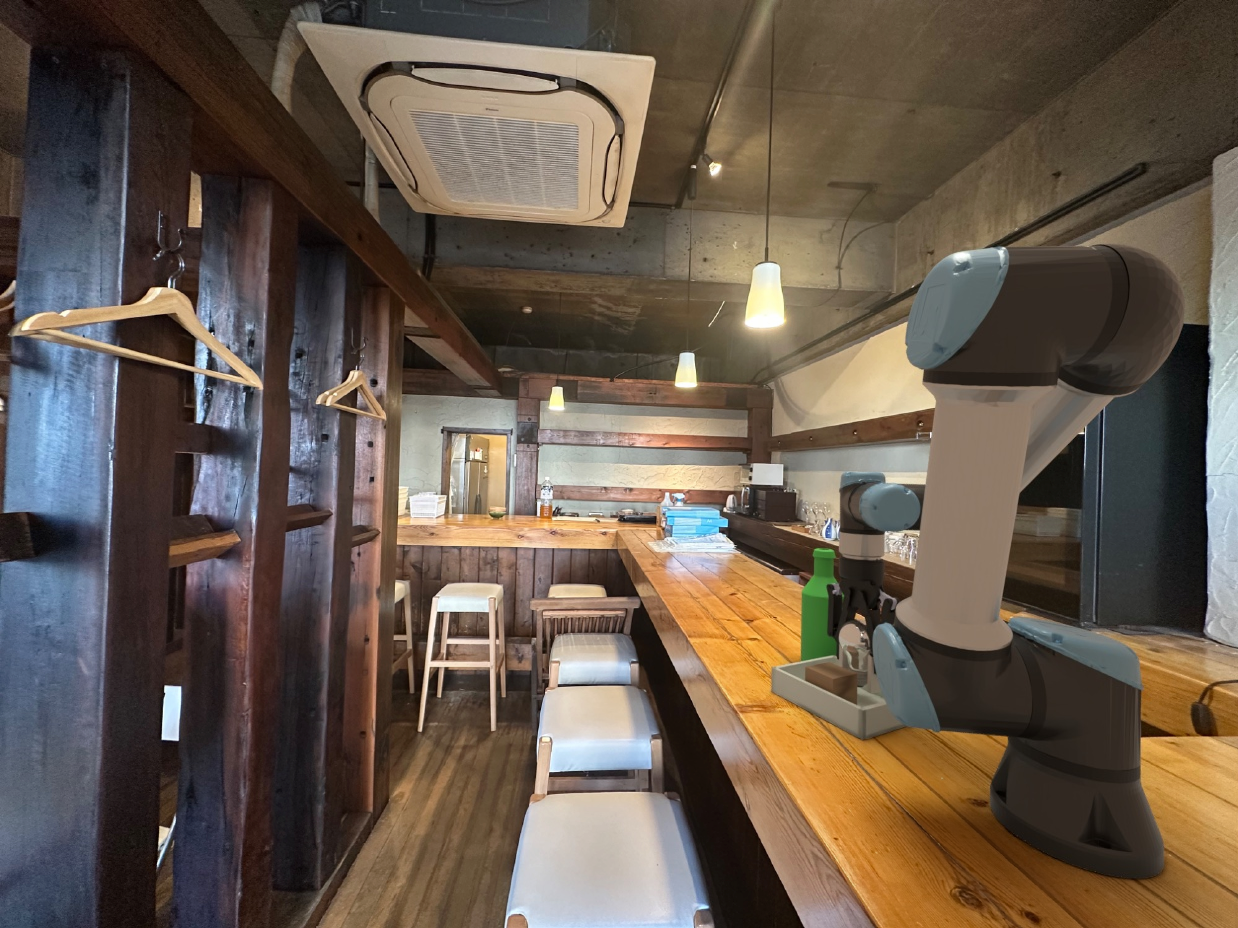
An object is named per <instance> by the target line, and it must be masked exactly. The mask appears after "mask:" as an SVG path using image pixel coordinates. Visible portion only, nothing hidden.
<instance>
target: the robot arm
mask: <svg viewBox="0 0 1238 928" xmlns="http://www.w3.org/2000/svg"><path fill="white" fill-rule="evenodd" d="M916 293H917V294H916V295H915V298H914V300H913V303H912V306H911V308H910V311H909V316H908V318H907V324H906V329H905V330H906V331H905V337H904V339H905V340H904V344H905V346H906V350H905V353H906V358H907V360H908V362H909V363H910V365H912V366H913V367H915V368H918V370H921V371H922V370H923V372H922V373H923V375H922V381H921V382H922V385H923V387H925V388H926V390H927V391H928V392H929V393H931V395H932V396H933V397H934V400H935V406H934V413H933V414H934V415H933V420H932V421H933V423H932V430H931V439H930V447H929V453H928V454H929V455H928V462H927V463H928V464H927V468H926V469H927V470H926V479H925V484H923V483H922V484H921V483H916V484H915V483H896V482H887V481H886V474H884V473H883V472H881V471H844V472H842V474H841V475H840V483H839V489H838V492H839V533H838V534H839V535H838V536H839V537H838V552H839V553H840V554H841V555H840V556H839V557H838V574H839V576H840V580H839V582H838V583H834V584H827V586H826V588H827V592H828V596H829V598H828V623H827V634H828V636H829V637H833V638H834V639H835V641H836V643H837V648H836V657H837V659H838V660H839V666H840V667H843V668H845V669H848V670H850V667H849V665H848V662H847V657H846V655H845V653H844V651H843V650H842V648H841V646H840V643H839V638H838V637H839V631H840V628H841V627H842V625H843V624H844V623H846V622H847V621H849V620H852V619H856V616H857V611H858V610H859V609H860V610H861V615H862V616H863V617H864V620H865V621H866V626H867V631H868V636H869V639H870V645H871V650H872V653H869V655H868V678H867V692H868V693H871V694H872V693H876V692H880V691H881V692H882V694H883V697H884V699H885V702H886V704H887V706H888V708H889V710H890V711H891V713H892V714H893V716H894V717H895V718H896V719H897V720H898V721H899V722H900V723H902V724H904V725H906V727H909V728H913V729H921V730H929V731H932V732H934V733H937V734H939V733H941V732H947V733H948V732H951V733H959V734H960V733H962V734H971V735H973V734H975V735H985V736H986V735H987V736H997V737H1007V745H1006V747H1005V749H1004V752H1003V754H1002V757H1001V759H1000V761H999V763H998V765H997V768H996V770H995V771H994V774H993V777H992V779H991V782H990V785H989V807H990V810H991V812H992V814H993V816H994V817H995V818H996V820H997V821H998V822H999V823H1000V824H1002V826H1003V827H1004V828H1005V829H1007V830H1008V831H1009V832H1011V833H1012V834H1013V835H1015V836H1016V837H1017V838H1019V839H1020V840H1021V841H1023V842H1025V843H1026V844H1027V845H1030V846H1032V847H1033V848H1035V849H1037V850H1039V851H1041V852H1042V853H1045V854H1047V856H1048V855H1049V856H1051V857H1053V858H1055V859H1056V860H1059V861H1062V862H1064V863H1065V864H1066V863H1067V864H1069V865H1071V866H1075V867H1077V868H1080V869H1083V870H1085V871H1086V870H1087V871H1089V870H1091V871H1090V872H1093V871H1096V872H1097V873H1098V874H1101V875H1104V876H1105V875H1106V876H1109V877H1115V878H1116V877H1117V878H1122V879H1134V880H1136V879H1137V880H1138V879H1140V880H1141V879H1147V878H1148V879H1149V878H1153V877H1155V876H1158V875H1159V874H1160V873H1161V872H1162V871H1164V867H1165V845H1164V844H1165V843H1164V839H1163V836H1162V835H1161V832H1160V828H1159V826H1158V823H1157V821H1156V818H1155V816H1154V813H1153V810H1152V808H1151V806H1150V803H1149V800H1148V797H1147V796H1146V793H1145V791H1144V788H1143V785H1142V781H1141V780H1142V779H1141V777H1142V775H1141V773H1142V770H1141V768H1142V767H1141V762H1142V758H1141V757H1142V756H1141V755H1142V752H1141V751H1142V742H1141V741H1142V738H1141V737H1142V727H1141V726H1142V691H1144V685H1143V684H1142V683H1143V682H1142V675H1141V674H1142V672H1141V664H1140V658H1139V656H1138V655H1137V653H1136V651H1134V650H1133V649H1132V648H1131V647H1130V646H1129V645H1127V644H1125V643H1123V642H1121V641H1120V640H1117V639H1114V638H1112V637H1109V636H1107V635H1104V634H1101V633H1097V632H1094V631H1091V630H1088V629H1085V628H1080V627H1077V626H1072V625H1069V624H1064V623H1060V622H1055V621H1051V620H1047V619H1040V618H1035V617H1028V616H1012V617H1011V618H1009V620H1008V622H1009V623H1008V624H1006V623H1005V622H1004V621H1003V620H1004V619H1003V618H1002V617H1001V616H1000V611H1001V605H1002V601H1003V593H1004V587H1005V582H1006V575H1007V570H1008V564H1009V557H1010V551H1011V545H1012V539H1013V535H1014V534H1013V533H1014V528H1015V521H1016V517H1017V513H1018V511H1017V510H1018V505H1019V504H1018V503H1019V497H1020V493H1021V492H1022V491H1023V490H1024V489H1025V488H1026V487H1027V486H1028V485H1029V484H1030V483H1031V482H1032V481H1033V480H1034V479H1035V478H1036V477H1037V476H1038V475H1040V473H1041V472H1042V471H1043V470H1044V469H1045V468H1046V467H1047V466H1048V465H1049V464H1050V463H1051V462H1052V461H1053V460H1054V459H1055V458H1056V457H1057V456H1058V455H1059V454H1060V453H1061V452H1062V450H1064V449H1065V448H1066V447H1067V446H1068V444H1070V443H1071V442H1072V441H1073V439H1074V438H1075V437H1077V436H1078V434H1080V433H1081V432H1082V430H1083V429H1085V428H1086V427H1087V426H1088V424H1090V423H1091V422H1092V421H1093V419H1095V418H1096V416H1098V415H1099V414H1100V412H1101V411H1102V410H1103V409H1105V408H1106V406H1107V405H1108V404H1109V403H1111V401H1112V400H1113V399H1115V398H1120V397H1125V396H1128V395H1131V394H1133V393H1135V392H1136V391H1137V390H1139V389H1140V388H1141V387H1142V386H1143V385H1144V384H1145V383H1146V382H1147V381H1148V380H1149V379H1150V378H1151V377H1152V376H1153V375H1154V374H1155V373H1156V372H1157V371H1158V370H1159V368H1160V367H1162V365H1163V364H1164V362H1165V361H1166V360H1167V359H1168V357H1169V356H1170V354H1171V353H1172V350H1173V349H1174V347H1175V345H1176V344H1177V342H1178V340H1179V337H1180V334H1181V331H1182V329H1183V326H1184V320H1185V313H1186V312H1185V311H1186V302H1185V295H1184V290H1183V288H1182V285H1181V282H1180V280H1179V279H1178V277H1177V275H1176V273H1175V272H1174V271H1173V270H1172V268H1171V267H1170V265H1168V264H1167V263H1166V262H1164V260H1163V259H1161V258H1159V257H1157V256H1156V255H1154V254H1152V253H1151V252H1149V251H1146V250H1145V249H1142V248H1140V247H1135V246H1130V245H1126V244H1115V243H1101V244H1100V243H1099V244H1092V245H1060V246H1059V245H1049V246H1046V245H1045V246H1044V245H1042V246H1040V245H1037V246H996V247H988V248H981V249H971V250H962V251H958V252H954V253H951V254H949V255H947V256H946V257H944V258H943V259H941V260H940V261H939V262H938V263H936V264H935V265H934V267H932V268H931V270H930V271H929V272H928V274H927V275H926V276H925V278H924V280H923V281H922V283H921V284H920V287H919V288H918V291H917V292H916ZM903 531H915V532H916V531H917V532H919V535H918V542H917V551H916V559H915V567H914V574H913V580H912V581H913V583H912V591H911V595H910V596H909V597H907V598H904V599H903V600H901V601H900V598H898V597H897V596H896V597H895V596H894V597H892V596H890V595H889V594H886V591H885V589H884V587H883V581H884V580H885V568H886V567H885V564H886V563H885V560H884V559H883V558H882V557H884V556H885V554H886V553H885V547H886V546H885V544H886V543H885V542H886V541H885V540H886V539H885V538H886V532H890V533H896V532H897V533H899V532H903ZM842 593H843V595H844V599H843V602H842ZM880 602H881V603H880ZM842 608H843V609H842ZM1096 872H1095V873H1096ZM1152 876H1153V877H1152Z"/></svg>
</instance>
